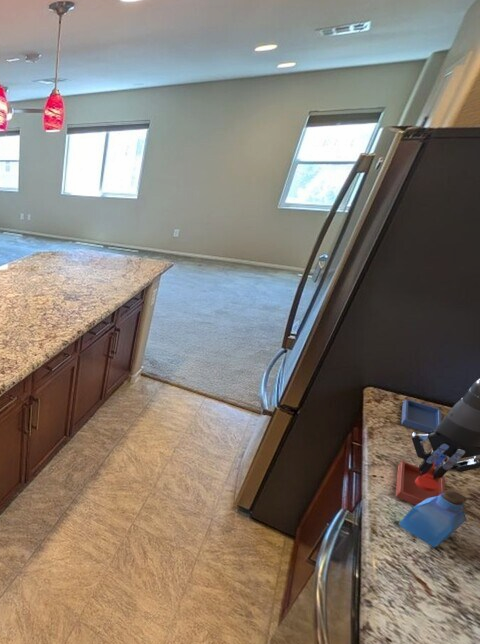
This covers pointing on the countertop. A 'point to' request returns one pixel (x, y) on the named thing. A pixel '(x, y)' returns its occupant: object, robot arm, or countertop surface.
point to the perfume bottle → (436, 517)
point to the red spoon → (427, 480)
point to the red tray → (414, 485)
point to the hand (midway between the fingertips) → (427, 474)
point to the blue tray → (420, 416)
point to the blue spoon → (439, 460)
